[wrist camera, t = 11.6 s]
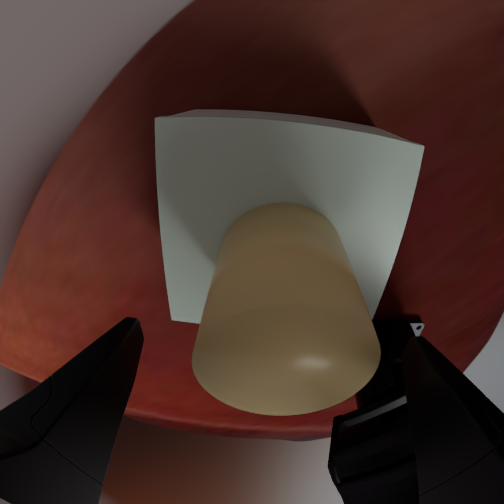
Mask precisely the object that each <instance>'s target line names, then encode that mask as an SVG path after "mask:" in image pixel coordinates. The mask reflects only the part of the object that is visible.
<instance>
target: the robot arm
mask: <svg viewBox="0 0 504 504" xmlns="http://www.w3.org/2000/svg"><path fill="white" fill-rule="evenodd" d="M372 323H373V326H374V329H375V332H376V335H377V338H378V341H379V344H380V350H381V356H380V362H379V365H378V368H377V370H376V372H375V374H374V375H373V377H372V378H371V379H370V381H369V382H368V383H367V384H366V385H365V386H364V387H363V388H362V389H361V390H359V391H358V392H357V393H355V397H356V402H357V408H358V409H357V410H354V411H352V412H349V413H347V414H344V415H338V416H336V417H334V419H333V427H332V435H331V444H330V452H329V460H328V469H329V473H330V475H331V478H332V481H333V483H334V484H335V486H336V488H337V490H338V492H339V493H340V495H341V497H342V499H343V502H344V504H504V413H503V412H502V411H501V410H500V409H499V408H497V407H496V406H495V405H494V404H493V403H492V402H491V401H490V400H489V399H488V398H487V397H486V396H485V395H484V394H483V393H482V392H481V391H480V390H479V389H478V388H477V387H476V386H475V385H474V384H473V383H472V382H471V381H470V380H469V379H468V378H467V377H466V376H465V375H464V374H463V373H462V372H461V371H460V370H459V369H458V368H456V367H455V366H454V365H453V364H452V363H451V362H450V361H449V360H448V359H447V358H446V357H445V356H444V355H443V354H442V353H440V352H439V351H438V350H437V349H436V348H435V347H434V346H433V345H432V344H431V343H430V342H428V341H427V340H426V339H425V338H424V337H422V336H419V335H420V333H421V331H422V330H423V328H424V324H423V322H422V321H421V320H372ZM143 342H144V336H143V332H142V328H141V324H140V321H139V319H137V318H131V317H126V318H124V319H123V320H122V321H121V322H119V323H118V324H117V325H115V326H114V327H113V328H111V329H110V330H109V331H107V332H106V333H105V334H103V335H102V336H101V337H100V338H98V339H97V340H96V341H94V342H93V343H92V344H90V345H89V346H88V347H87V348H85V349H84V350H83V351H81V352H80V353H79V354H77V355H76V356H75V357H74V358H72V359H71V360H70V361H69V362H67V363H66V364H65V365H63V366H62V367H61V368H60V369H58V370H57V371H56V372H55V373H53V374H52V377H51V376H49V377H48V378H47V379H46V380H44V381H43V382H42V383H40V384H39V385H38V386H36V387H35V388H34V389H33V390H31V391H30V392H28V393H27V394H25V395H24V396H22V397H21V398H19V399H18V400H16V401H15V402H13V403H11V404H10V405H8V406H7V407H5V408H4V409H2V410H0V504H98V503H99V498H100V494H101V491H102V487H103V485H102V484H103V482H104V479H105V475H106V471H107V468H108V464H109V461H110V457H111V454H112V450H113V447H114V443H115V440H116V437H117V433H118V430H119V427H120V424H121V421H122V417H123V415H124V411H125V408H126V405H127V402H128V399H129V396H130V393H131V391H132V388H133V384H134V381H135V377H136V373H137V368H138V364H139V359H140V355H141V351H142V346H143Z"/></svg>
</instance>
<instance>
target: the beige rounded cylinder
mask: <svg viewBox="0 0 504 504" xmlns="http://www.w3.org/2000/svg"><path fill="white" fill-rule="evenodd" d="M380 356H381V350H380V344H379V341H378V338H377V335H376V332H375V329H374V326H373V323H372V320H371V317H370V314H369V311H368V309H367V306H366V303H365V300H364V298H363V295H362V292H361V290H360V287H359V284H358V282H357V279H356V276H355V274H354V271H353V269H352V266H351V264H350V261H349V259H348V256H347V254H346V251H345V249H344V247H343V244H342V242H341V239H340V237H339V235H338V233H337V231H336V229H335V228H334V226H333V225H332V224H331V223H330V222H329V221H328V220H327V219H326V218H325V217H324V216H323V215H321V214H320V213H318V212H317V211H315V210H313V209H311V208H308V207H306V206H302V205H299V204H293V203H271V204H267V205H262V206H260V207H257V208H254V209H252V210H250V211H248V212H246V213H245V214H243V215H242V216H241V217H239V218H238V219H237V220H236V221H235V222H234V223H233V224H232V225H231V226H230V228H229V229H228V231H227V232H226V234H225V236H224V238H223V241H222V243H221V247H220V251H219V254H218V258H217V262H216V265H215V269H214V273H213V276H212V280H211V284H210V287H209V291H208V295H207V299H206V303H205V307H204V310H203V314H202V318H201V322H200V326H199V330H198V334H197V338H196V342H195V346H194V350H193V355H192V368H193V372H194V374H195V376H196V378H197V380H198V381H199V383H200V384H201V386H202V387H203V388H204V389H205V390H206V391H207V392H208V393H210V394H211V395H212V396H213V397H215V398H217V399H218V400H220V401H221V402H223V403H225V404H227V405H230V406H232V407H235V408H237V409H241V410H244V411H248V412H252V413H257V414H264V415H298V414H305V413H310V412H315V411H319V410H322V409H325V408H328V407H331V406H334V405H336V404H338V403H340V402H342V401H344V400H346V399H348V398H349V397H351V396H353V395H354V394H355V393H357V392H358V391H359V390H361V389H362V388H363V387H364V386H365V385H366V384H367V383H368V382H369V381H370V379H371V378H372V377H373V375H374V374H375V372H376V370H377V368H378V365H379V362H380Z"/></svg>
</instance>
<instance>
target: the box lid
mask: <svg viewBox="0 0 504 504" xmlns="http://www.w3.org/2000/svg"><path fill="white" fill-rule="evenodd" d="M423 151H424V146H423V145H420V144H418V143H414V142H411V141H406V140H402V139H398V138H394V137H389V136H385V135H380V134H375V133H370V132H365V131H360V130H354V129H348V128H343V127H336V126H330V125H323V124H316V123H308V122H299V121H290V120H280V119H269V118H255V117H237V116H159V117H156V118H155V154H156V177H157V194H158V209H159V221H160V232H161V242H162V252H163V261H164V269H165V277H166V285H167V292H168V299H169V306H170V312H171V319H172V320H176V321H183V322H191V323H200V322H201V318H202V314H203V310H204V307H205V303H206V299H207V295H208V291H209V287H210V284H211V280H212V276H213V273H214V269H215V265H216V262H217V258H218V254H219V251H220V247H221V243H222V241H223V238H224V236H225V234H226V232H227V231H228V229H229V228H230V226H231V225H232V224H233V223H234V222H235V221H236V220H237V219H238V218H239V217H241V216H242V215H243V214H245V213H246V212H248V211H250V210H252V209H254V208H257V207H260V206H262V205H267V204H271V203H293V204H299V205H302V206H306V207H308V208H311V209H313V210H315V211H317V212H318V213H320V214H321V215H323V216H324V217H325V218H326V219H327V220H328V221H329V222H330V223H331V224H332V225H333V226H334V228H335V229H336V231H337V233H338V235H339V237H340V239H341V242H342V244H343V247H344V249H345V251H346V254H347V256H348V259H349V261H350V264H351V266H352V269H353V271H354V274H355V276H356V279H357V282H358V284H359V287H360V290H361V292H362V295H363V298H364V300H365V303H366V306H367V309H368V311H369V314H370V317H371V320H372V319H373V316H374V314H375V311H376V309H377V307H378V304H379V301H380V299H381V296H382V294H383V291H384V288H385V286H386V283H387V280H388V278H389V275H390V272H391V269H392V266H393V263H394V260H395V257H396V254H397V251H398V248H399V245H400V242H401V239H402V235H403V232H404V229H405V225H406V222H407V218H408V215H409V211H410V207H411V204H412V200H413V196H414V192H415V188H416V184H417V179H418V175H419V170H420V166H421V161H422V156H423Z"/></svg>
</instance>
